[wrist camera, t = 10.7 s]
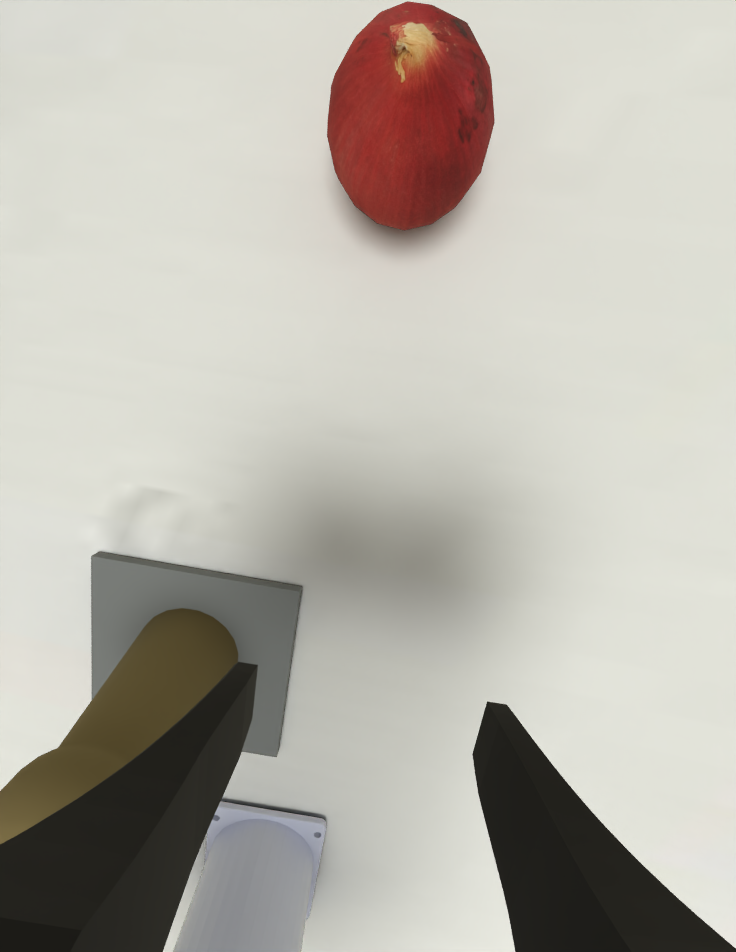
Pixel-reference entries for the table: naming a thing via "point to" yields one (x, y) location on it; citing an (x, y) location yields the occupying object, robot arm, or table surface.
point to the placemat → (217, 594)
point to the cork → (124, 714)
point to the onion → (410, 115)
